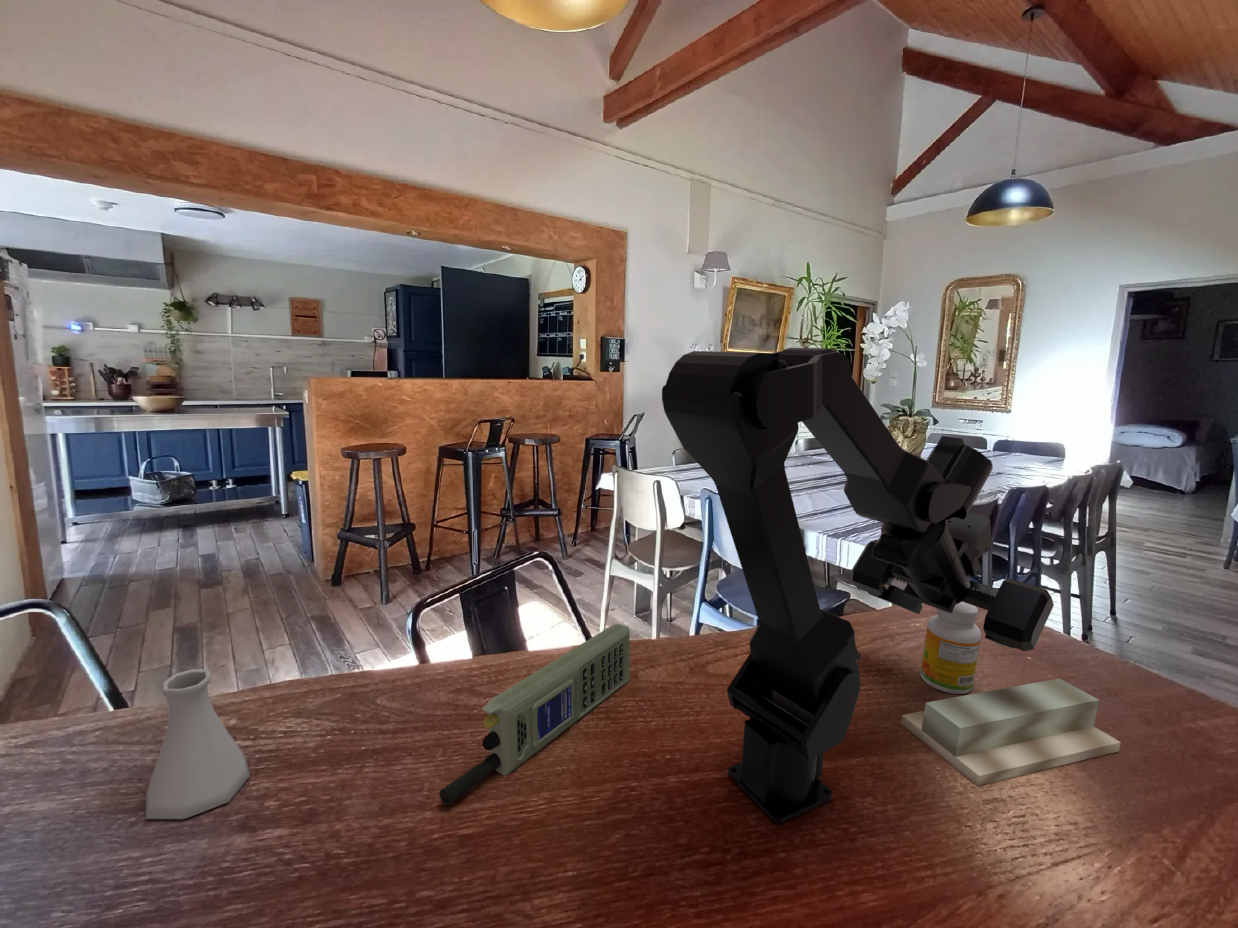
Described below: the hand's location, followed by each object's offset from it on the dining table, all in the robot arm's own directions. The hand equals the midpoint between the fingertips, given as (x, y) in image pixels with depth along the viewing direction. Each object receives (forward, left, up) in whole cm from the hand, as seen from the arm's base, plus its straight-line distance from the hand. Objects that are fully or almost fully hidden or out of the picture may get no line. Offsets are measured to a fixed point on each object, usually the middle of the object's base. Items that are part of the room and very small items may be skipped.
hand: (958, 625), depth 67 cm
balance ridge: (-5, -9, -7) cm, 13 cm away
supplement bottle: (-1, 0, -7) cm, 7 cm away
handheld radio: (-47, +11, -7) cm, 48 cm away
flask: (-75, +17, -7) cm, 77 cm away
